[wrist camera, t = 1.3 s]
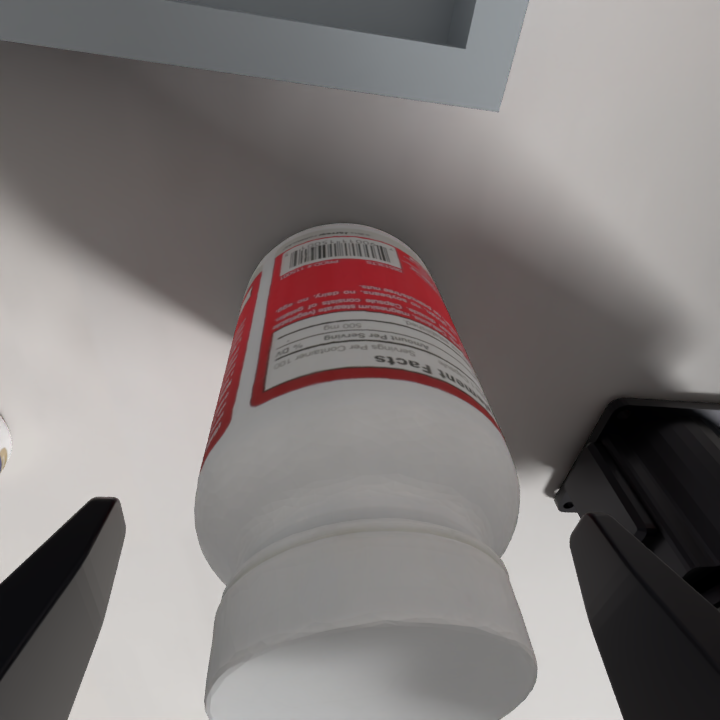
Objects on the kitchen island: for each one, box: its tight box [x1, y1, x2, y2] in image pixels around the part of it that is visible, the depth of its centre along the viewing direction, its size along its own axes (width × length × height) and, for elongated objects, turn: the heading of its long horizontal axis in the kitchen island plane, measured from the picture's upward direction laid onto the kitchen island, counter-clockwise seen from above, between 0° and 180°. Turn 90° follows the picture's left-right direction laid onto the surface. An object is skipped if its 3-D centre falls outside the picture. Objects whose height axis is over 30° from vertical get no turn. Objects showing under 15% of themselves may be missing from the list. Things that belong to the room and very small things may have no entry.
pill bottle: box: [194, 223, 537, 720], centre depth 11 cm, size 6×6×11 cm
